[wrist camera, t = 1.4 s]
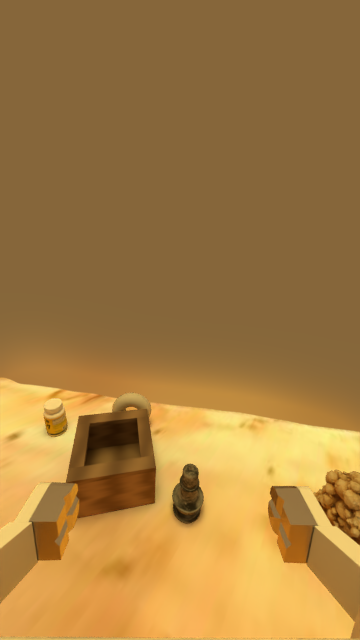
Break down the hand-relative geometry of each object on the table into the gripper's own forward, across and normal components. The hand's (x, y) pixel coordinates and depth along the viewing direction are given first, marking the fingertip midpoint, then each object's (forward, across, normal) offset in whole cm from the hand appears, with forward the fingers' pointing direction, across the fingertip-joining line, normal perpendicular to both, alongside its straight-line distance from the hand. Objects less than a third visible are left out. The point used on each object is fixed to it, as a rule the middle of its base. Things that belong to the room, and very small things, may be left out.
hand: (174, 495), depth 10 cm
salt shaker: (+30, +3, -37) cm, 48 cm away
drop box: (+36, -12, -36) cm, 52 cm away
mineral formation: (+26, +29, -39) cm, 55 cm away
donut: (+49, -11, -34) cm, 61 cm away
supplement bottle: (+47, -30, -34) cm, 65 cm away
